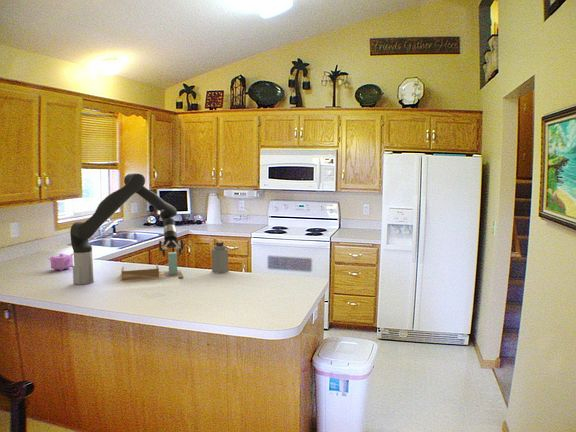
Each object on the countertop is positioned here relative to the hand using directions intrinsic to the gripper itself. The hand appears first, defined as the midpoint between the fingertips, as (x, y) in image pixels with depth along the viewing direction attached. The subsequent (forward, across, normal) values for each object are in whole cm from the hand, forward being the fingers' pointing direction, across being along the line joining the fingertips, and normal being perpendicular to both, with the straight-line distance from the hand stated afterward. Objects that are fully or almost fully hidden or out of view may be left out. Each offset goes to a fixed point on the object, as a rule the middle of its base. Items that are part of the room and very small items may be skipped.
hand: (172, 255), depth 265 cm
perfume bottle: (+12, +28, +3) cm, 30 cm away
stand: (+13, -12, +1) cm, 18 cm away
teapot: (-14, -64, +28) cm, 71 cm away
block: (+12, 0, +1) cm, 12 cm away
